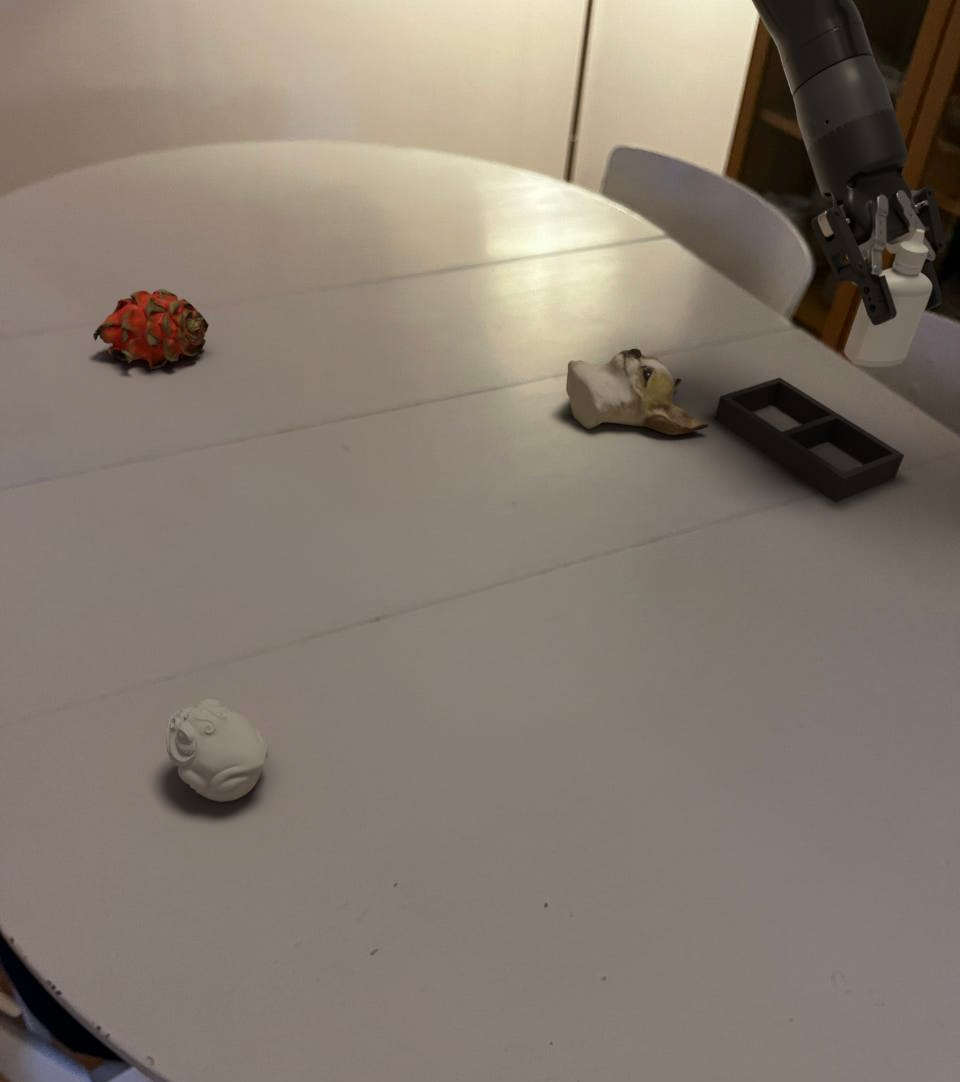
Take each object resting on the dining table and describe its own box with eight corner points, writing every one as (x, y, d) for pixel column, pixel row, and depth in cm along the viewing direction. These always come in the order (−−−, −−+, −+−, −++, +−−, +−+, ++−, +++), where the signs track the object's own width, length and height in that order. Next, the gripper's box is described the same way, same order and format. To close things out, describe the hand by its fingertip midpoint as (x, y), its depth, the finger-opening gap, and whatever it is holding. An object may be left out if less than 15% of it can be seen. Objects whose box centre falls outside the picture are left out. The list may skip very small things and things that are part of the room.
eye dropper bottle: (903, 376, 96) (954, 246, 88) (841, 363, 97) (886, 233, 88) (904, 355, 99) (953, 228, 91) (843, 342, 100) (887, 215, 92)
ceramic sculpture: (560, 322, 110) (693, 328, 113) (545, 395, 116) (672, 399, 119) (585, 373, 103) (727, 379, 106) (567, 449, 108) (703, 452, 112)
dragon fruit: (222, 376, 117) (113, 394, 116) (210, 306, 118) (101, 323, 117) (208, 341, 109) (90, 360, 107) (194, 266, 110) (78, 284, 109)
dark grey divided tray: (771, 405, 119) (779, 377, 116) (892, 484, 109) (904, 454, 106) (712, 425, 115) (720, 395, 112) (832, 509, 104) (844, 478, 102)
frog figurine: (205, 740, 76) (195, 671, 72) (290, 773, 75) (285, 705, 70) (155, 799, 72) (140, 731, 67) (244, 836, 70) (235, 768, 66)
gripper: (825, 114, 85) (890, 315, 87) (936, 97, 92) (995, 283, 93) (761, 160, 92) (822, 346, 93) (869, 141, 98) (925, 314, 100)
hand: (908, 314), depth 93 cm, fingers closed on eye dropper bottle, 5 cm apart
